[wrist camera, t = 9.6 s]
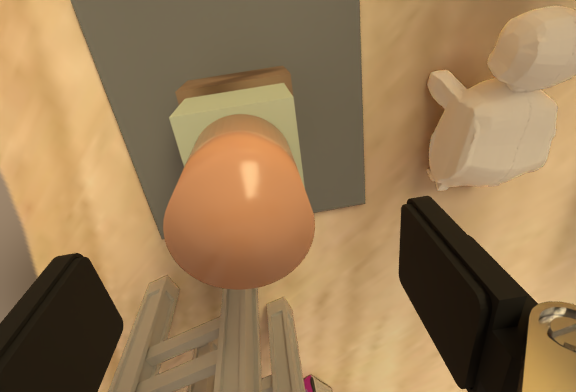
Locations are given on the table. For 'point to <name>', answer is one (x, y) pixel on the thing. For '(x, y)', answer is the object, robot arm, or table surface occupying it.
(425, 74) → the table surface
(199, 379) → the stool
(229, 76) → the tower base
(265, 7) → the rubber mat
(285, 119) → the tower top
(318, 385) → the candy bar box
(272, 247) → the peach egg shape
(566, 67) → the cream shape with stub
